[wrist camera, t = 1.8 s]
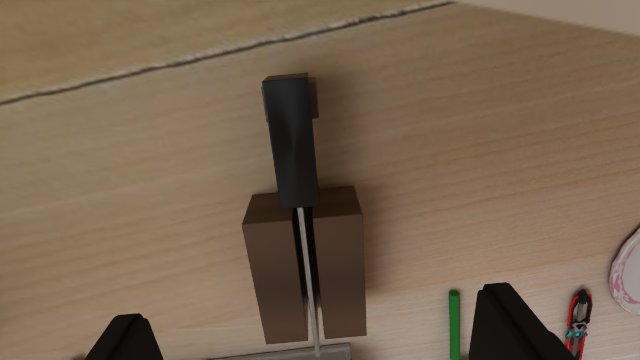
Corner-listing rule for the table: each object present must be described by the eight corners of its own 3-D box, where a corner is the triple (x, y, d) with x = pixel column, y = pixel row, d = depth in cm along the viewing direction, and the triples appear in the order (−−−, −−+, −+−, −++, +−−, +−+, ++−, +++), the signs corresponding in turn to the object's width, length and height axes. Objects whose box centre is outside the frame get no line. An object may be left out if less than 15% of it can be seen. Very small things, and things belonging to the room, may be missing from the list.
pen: (554, 394, 33) (559, 401, 32) (568, 289, 27) (574, 294, 27) (574, 391, 33) (579, 398, 32) (592, 284, 27) (598, 290, 27)
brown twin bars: (231, 84, 20) (214, 95, 16) (349, 74, 20) (359, 82, 16) (271, 303, 27) (266, 344, 23) (358, 295, 27) (366, 335, 23)
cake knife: (271, 72, 20) (262, 80, 16) (307, 69, 20) (307, 77, 16) (303, 310, 27) (302, 358, 23) (329, 307, 27) (333, 355, 23)
